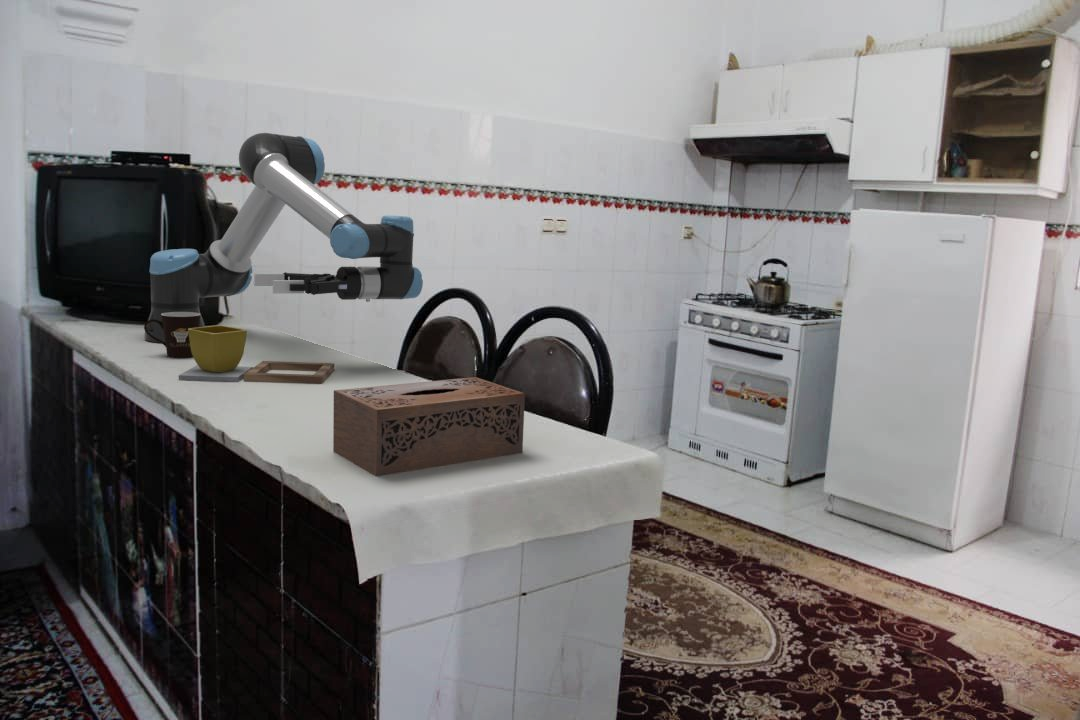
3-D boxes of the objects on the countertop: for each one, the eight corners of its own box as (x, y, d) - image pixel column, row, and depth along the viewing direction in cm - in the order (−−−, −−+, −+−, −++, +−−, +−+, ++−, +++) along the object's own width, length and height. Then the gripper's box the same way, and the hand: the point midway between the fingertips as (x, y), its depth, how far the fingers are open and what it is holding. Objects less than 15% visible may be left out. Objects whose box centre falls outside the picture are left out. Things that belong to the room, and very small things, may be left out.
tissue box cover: (473, 433, 153) (475, 377, 151) (522, 454, 142) (524, 393, 140) (333, 453, 138) (333, 390, 136) (375, 478, 126) (376, 409, 125)
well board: (262, 367, 201) (262, 360, 201) (334, 369, 202) (334, 363, 202) (243, 381, 186) (243, 374, 185) (321, 383, 187) (321, 376, 186)
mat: (197, 369, 196) (197, 364, 195) (252, 371, 196) (252, 366, 196) (178, 380, 184) (178, 375, 184) (237, 381, 185) (237, 377, 184)
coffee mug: (207, 354, 214) (207, 313, 213) (190, 360, 206) (189, 317, 204) (161, 351, 215) (160, 310, 214) (142, 357, 207) (141, 314, 205)
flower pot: (248, 370, 192) (248, 329, 190) (214, 376, 185) (214, 333, 183) (221, 365, 197) (220, 324, 195) (187, 370, 189) (186, 328, 188)
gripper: (377, 306, 194) (281, 308, 182) (336, 292, 214) (247, 293, 203) (378, 272, 193) (281, 271, 181) (337, 261, 213) (247, 260, 201)
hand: (263, 283), depth 192 cm, fingers open, 13 cm apart
